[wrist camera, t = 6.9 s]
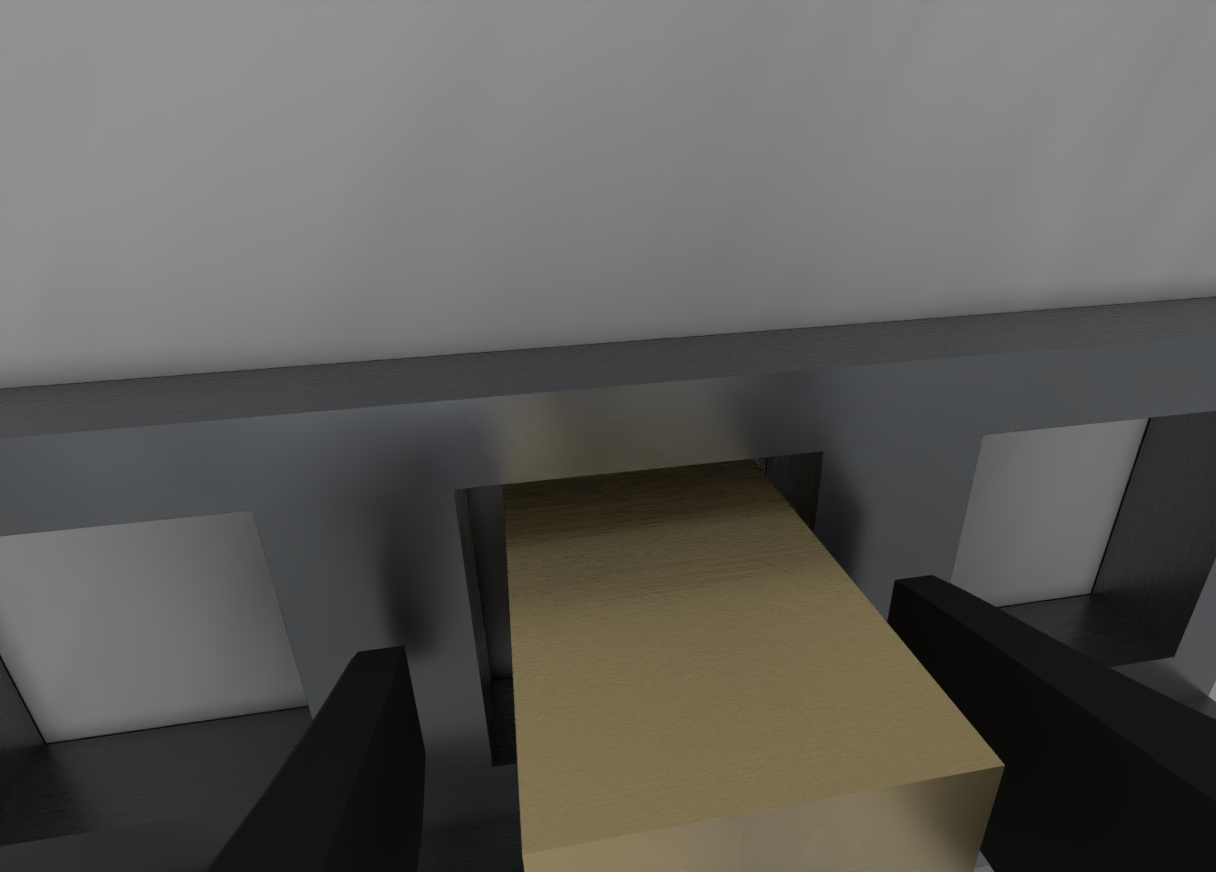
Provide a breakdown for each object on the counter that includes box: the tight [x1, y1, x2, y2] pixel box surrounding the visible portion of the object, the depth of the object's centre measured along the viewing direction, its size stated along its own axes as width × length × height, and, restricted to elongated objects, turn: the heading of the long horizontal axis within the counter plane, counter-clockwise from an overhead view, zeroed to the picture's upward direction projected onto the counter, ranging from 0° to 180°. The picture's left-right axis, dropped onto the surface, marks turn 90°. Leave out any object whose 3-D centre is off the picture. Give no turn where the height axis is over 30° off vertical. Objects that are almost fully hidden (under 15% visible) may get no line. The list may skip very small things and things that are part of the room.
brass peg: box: [503, 459, 1005, 872], centre depth 9 cm, size 4×4×7 cm
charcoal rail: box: [0, 297, 1216, 872], centre depth 11 cm, size 9×24×4 cm, turn 91°
